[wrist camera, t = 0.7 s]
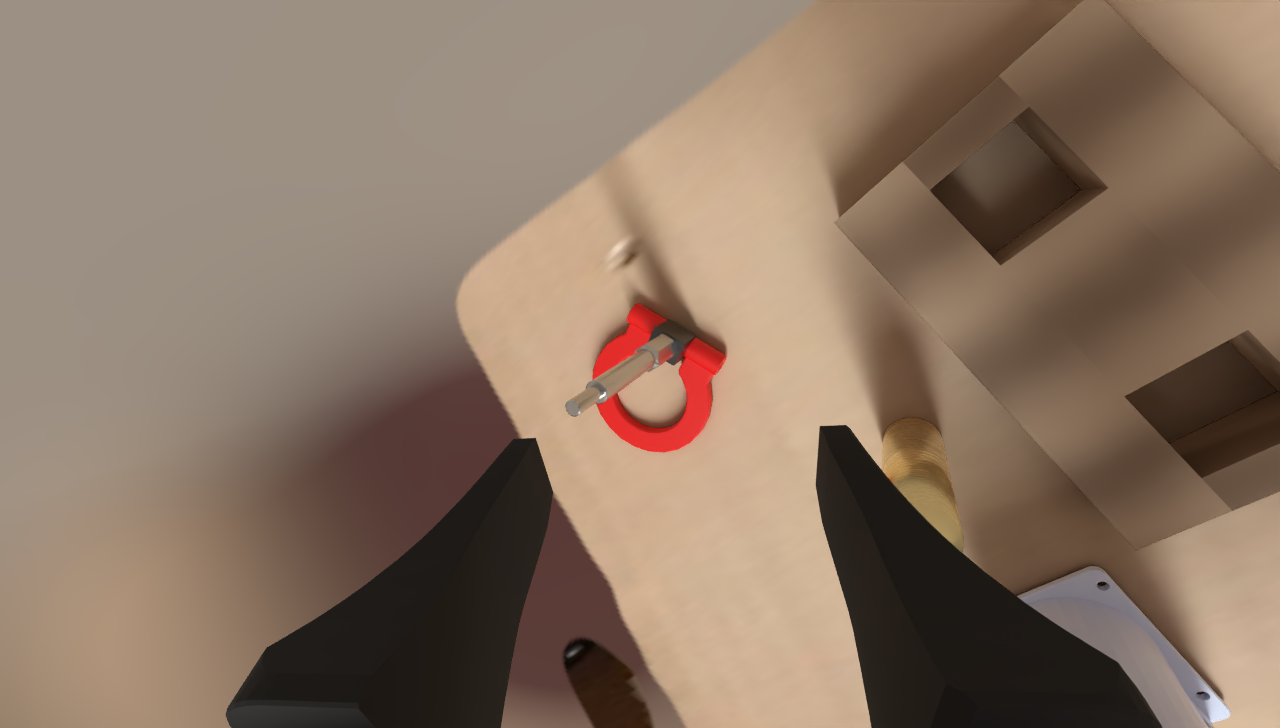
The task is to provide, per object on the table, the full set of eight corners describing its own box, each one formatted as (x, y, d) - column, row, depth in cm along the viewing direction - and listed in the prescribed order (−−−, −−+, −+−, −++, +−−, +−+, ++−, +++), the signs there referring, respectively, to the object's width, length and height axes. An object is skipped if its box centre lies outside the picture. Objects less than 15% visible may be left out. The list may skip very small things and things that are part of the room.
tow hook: (681, 467, 38) (743, 359, 33) (585, 588, 27) (659, 449, 22) (584, 402, 40) (631, 292, 35) (457, 489, 29) (503, 344, 24)
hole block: (1421, 370, 22) (1508, 397, 19) (1108, 511, 28) (1135, 550, 24) (1067, 18, 23) (1094, -10, 20) (839, 220, 29) (833, 222, 26)
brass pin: (955, 449, 30) (982, 551, 21) (907, 477, 31) (913, 583, 22) (917, 407, 30) (928, 491, 21) (871, 436, 31) (863, 526, 23)
